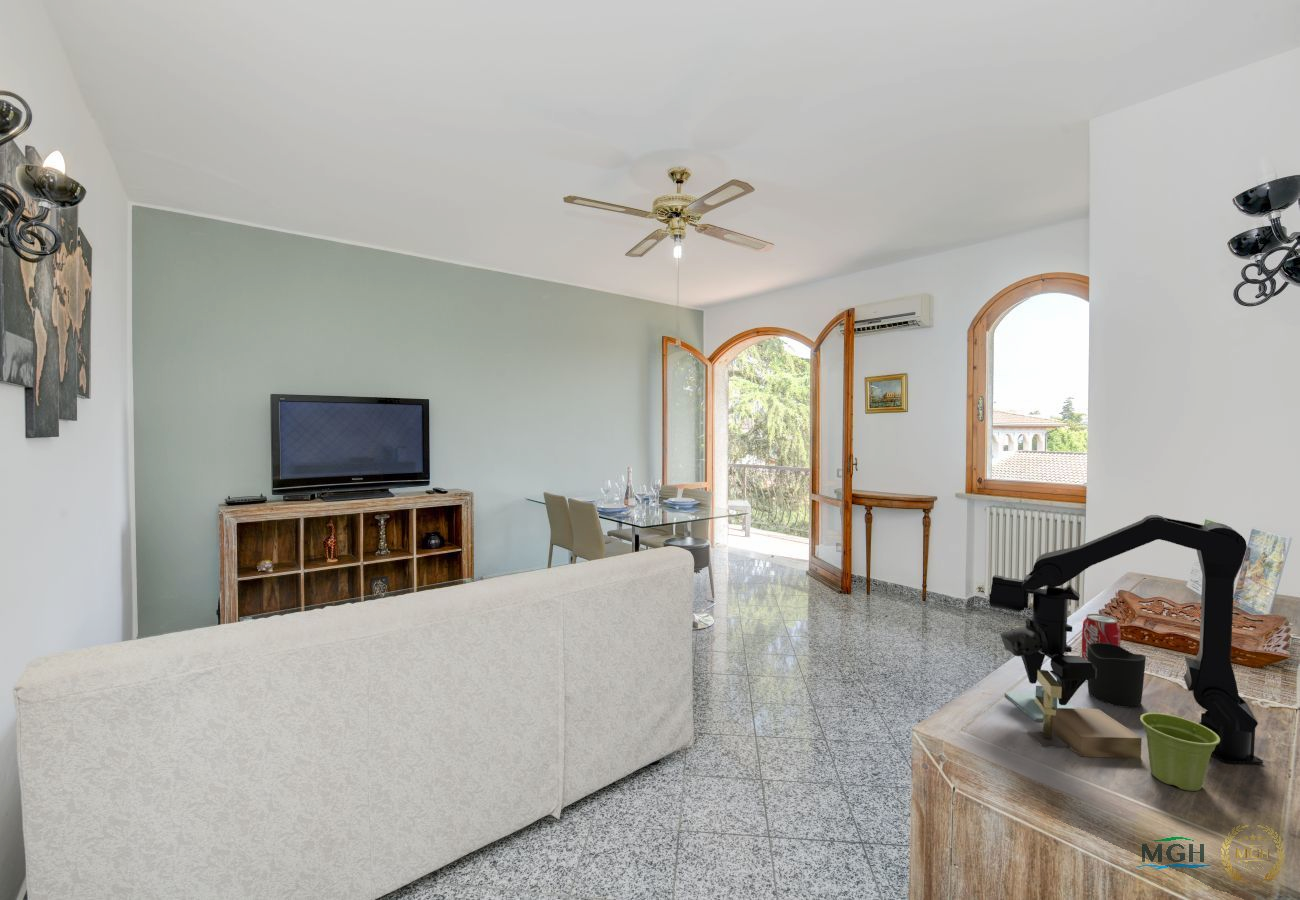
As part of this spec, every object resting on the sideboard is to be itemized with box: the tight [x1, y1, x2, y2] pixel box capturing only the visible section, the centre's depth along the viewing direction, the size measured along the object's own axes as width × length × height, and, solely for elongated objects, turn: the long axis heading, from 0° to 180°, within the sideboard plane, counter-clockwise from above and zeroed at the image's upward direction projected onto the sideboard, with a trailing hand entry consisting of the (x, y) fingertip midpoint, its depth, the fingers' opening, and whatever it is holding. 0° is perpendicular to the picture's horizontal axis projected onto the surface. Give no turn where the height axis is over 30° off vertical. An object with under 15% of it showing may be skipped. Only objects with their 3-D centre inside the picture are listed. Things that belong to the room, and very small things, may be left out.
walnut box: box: [1026, 707, 1143, 759], centre depth 103 cm, size 15×10×4 cm
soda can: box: [1081, 613, 1122, 660], centre depth 134 cm, size 7×7×12 cm
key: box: [1035, 669, 1062, 740], centre depth 104 cm, size 8×2×11 cm, turn 162°
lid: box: [1004, 685, 1078, 722], centre depth 115 cm, size 10×10×5 cm
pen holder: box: [1087, 643, 1147, 708], centre depth 119 cm, size 9×9×10 cm
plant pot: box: [1139, 712, 1220, 792], centre depth 92 cm, size 9×9×9 cm
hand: (1047, 693), depth 115 cm, fingers open, 9 cm apart
